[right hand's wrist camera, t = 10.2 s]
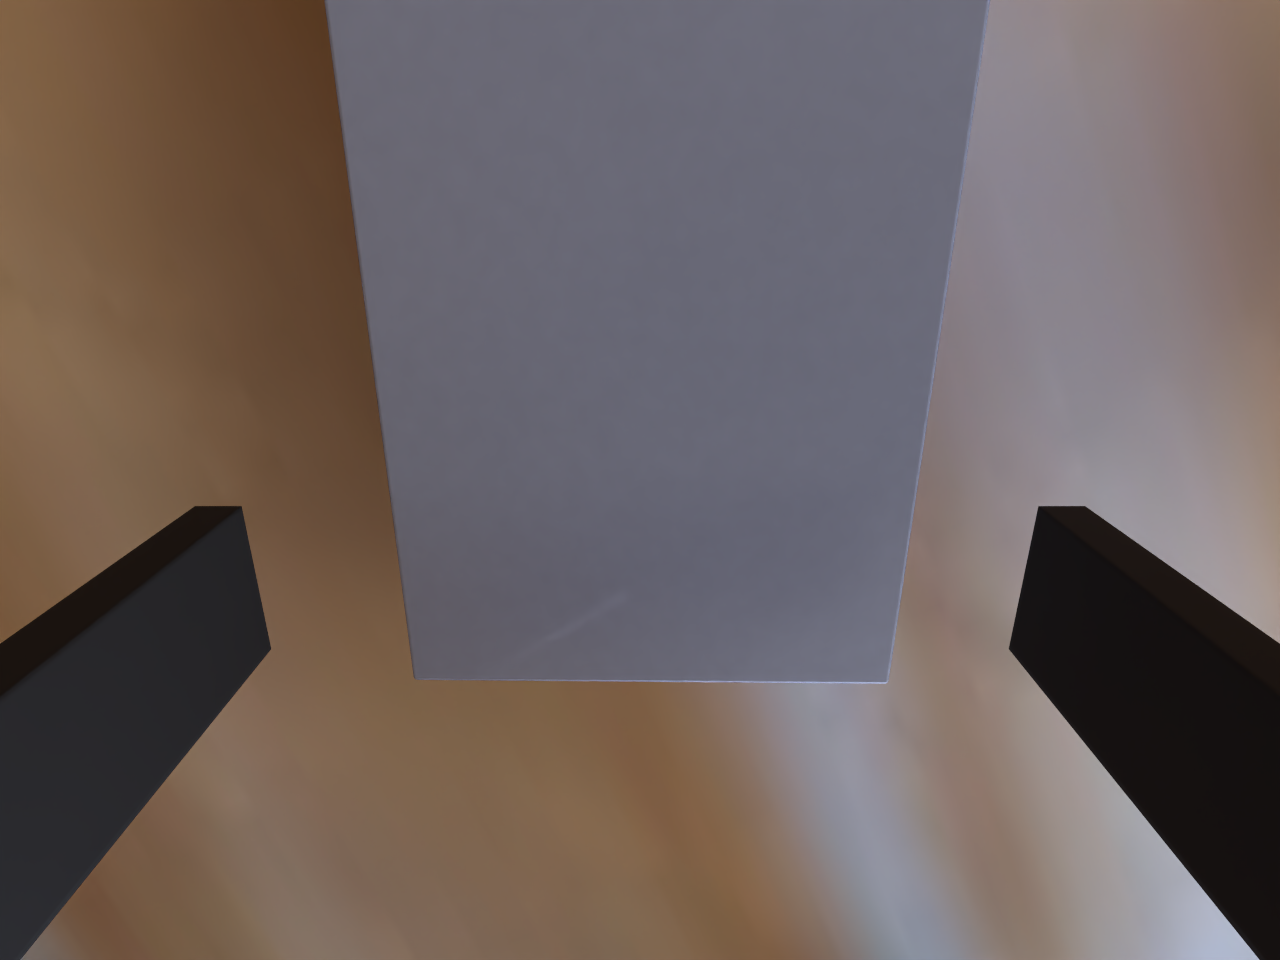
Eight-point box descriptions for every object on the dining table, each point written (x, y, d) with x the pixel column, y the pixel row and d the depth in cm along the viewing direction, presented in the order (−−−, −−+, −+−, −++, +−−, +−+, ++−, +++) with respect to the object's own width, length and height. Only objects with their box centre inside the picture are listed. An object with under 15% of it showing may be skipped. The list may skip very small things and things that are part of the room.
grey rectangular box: (438, -223, 18) (242, -602, 9) (872, -225, 18) (1083, -610, 9) (494, 508, 26) (412, 681, 17) (805, 511, 25) (889, 685, 17)
